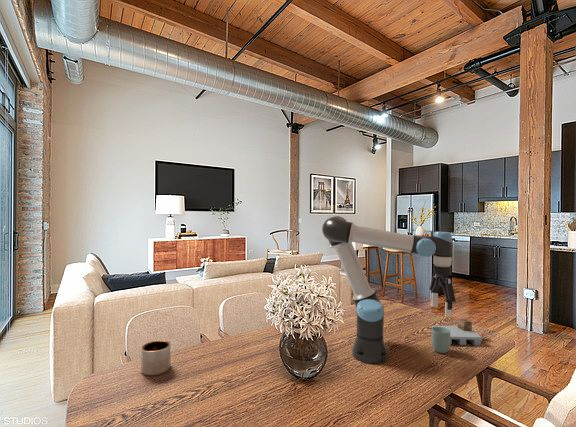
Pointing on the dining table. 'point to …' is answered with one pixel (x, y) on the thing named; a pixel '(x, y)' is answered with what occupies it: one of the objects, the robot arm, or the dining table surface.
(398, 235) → the robot arm
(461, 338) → the dock
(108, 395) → the dining table surface
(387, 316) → the dining table surface
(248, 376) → the dining table surface
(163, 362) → the planter
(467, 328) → the block
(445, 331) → the cup
